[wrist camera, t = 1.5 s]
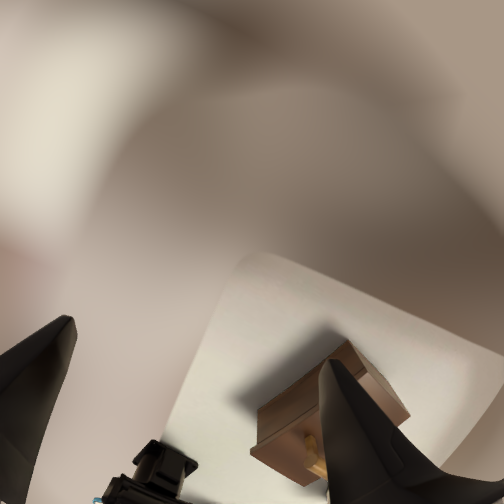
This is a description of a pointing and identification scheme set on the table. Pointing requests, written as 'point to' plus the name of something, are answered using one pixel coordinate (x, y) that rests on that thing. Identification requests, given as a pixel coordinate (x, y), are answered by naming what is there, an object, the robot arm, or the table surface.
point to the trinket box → (310, 393)
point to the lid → (317, 437)
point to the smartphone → (97, 501)
